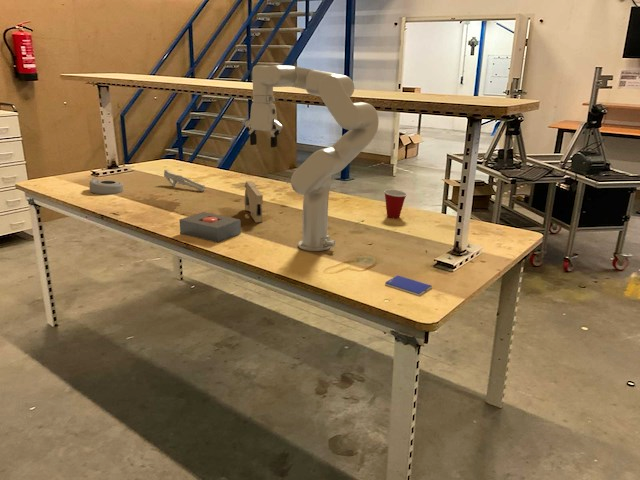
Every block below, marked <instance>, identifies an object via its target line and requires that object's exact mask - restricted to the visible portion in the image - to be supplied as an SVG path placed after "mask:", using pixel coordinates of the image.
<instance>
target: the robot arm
mask: <svg viewBox="0 0 640 480" xmlns="http://www.w3.org/2000/svg"><path fill="white" fill-rule="evenodd" d="M285 87H287V88H289V87H290V88H295V89H296V88H297V89H302V90H305V91H306V92H307V94H309V95H310V96H316V97H320V98H321V100H322V102H323V104H324V106H326V108H327V110H328V112H329V113H330V114H331V116H332V117H333V119H334V120H335V122H336V123H337V124H338V126H339V127H341V128H342V129H345V130H347V132H345V133H344V134H343V135H342V136H340V138H339V139H338V140H337V141H335V143H333V144H332V145H331V146H328V147H324V148H321V149H317V150H316V151H314V152H313V153H312V154H310V156H308V157H307V158H306V159H305V160H304V161H303V162H302V163H301V164H300V165H299V166H298V167H297V168H296V170H295V171H293V173H292V175H291V177H290V178H291V179H290V185H291V188H292V190H293V191H294V192H295V193H296V194H298V195H301V196H303V200H302V237H301V238H302V239H301V240H299V241H298V245H297V246H298V247H299V249H301V250H303V251H307V252H308V251H309V252H322V251H327V250H329V249H330V248H334V247H335V245H336V240H334V239H330V235H328V221H329V219H328V217H329V196H330V190H331V184H332V175H335V174H338V173H340V172H342V171H343V170H344V169H345V168H346V167H347V166H348V165H349V164H350V163H351V162H352V161H353V160H354V159H356V158H357V156H359V154H360V153H361V152H362V151H363V150H365V149H366V148H367V147H368V145H370V143H372V141H373V140H374V138H375V136H376V134H377V132H378V129H379V122H380V121H379V120H380V119H379V114H378V111H377V110H376V108H375V106H373V105H372V104H371V103H368V102H361V101H360V102H353V101H352V99H351V97H353V94H354V91H355V84H354V81H353V80H352V78H351V77H349V76H347V75H344V74H341V73H334V72H329V71H322V70H318V69H311V68H305V67H301V66H294V65H285V64H284V65H280V64H279V65H278V64H277V65H276V64H274V65H261V64H260V65H259V64H258V65H254V66H253V67H252V103H251V106H250V116H249V119H248V120H246V121H244V126H245V128H246V131H247V132H248V135H249V142H250V143H249V145H250V146H255V145H257V133H256V132H257V131H260V132H269V134H270V135H271V136H270V148H271V149H272V148H273V149H274V148H277V145H278V137H279V135H280V134H281V133H282V130H283V127H284V126H283V124H281V123H280V122H279V121H278V114H277V108H276V104H275V103H274V102H275V101H276V97H274V88H285Z"/></svg>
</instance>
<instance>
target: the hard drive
mask: <svg viewBox="0 0 640 480" xmlns="http://www.w3.org/2000/svg"><path fill="white" fill-rule="evenodd" d="M384 285H385V286H387V287H390V288H393V289H397V290H401V291H403V292H405V293H410V294H413V295H415V296H416V295H417V296H418V297H419V296H422V295H424V294H425V293H426V292H428V291H429V290H431V289H432V288H433V286H432V284H427V283H425V282H421V281H418V280H414V279H411V278H407V277H405V276H401V275H395V276H394V277H393V278H391V279H389V280H387V281H385V284H384Z"/></svg>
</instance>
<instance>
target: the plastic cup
mask: <svg viewBox="0 0 640 480" xmlns="http://www.w3.org/2000/svg"><path fill="white" fill-rule="evenodd" d="M383 193H384V197H385V198H384V199H385V209H386V217H387V218H390V219H399V218H400V217H401V212H402V210H403V205H404V203H405V199H406V197H407V196H408V193H407V192H405V191H402V190H397V189H385V190H384V191H383Z"/></svg>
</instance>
